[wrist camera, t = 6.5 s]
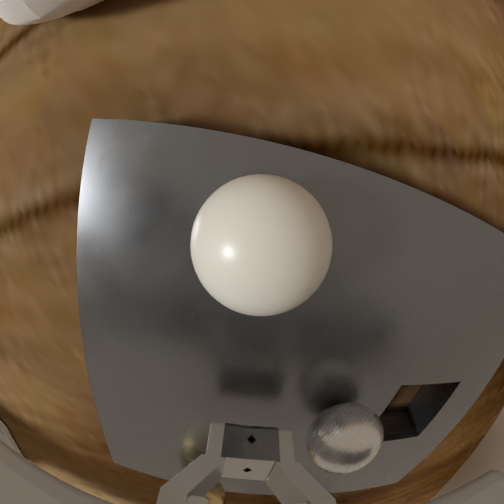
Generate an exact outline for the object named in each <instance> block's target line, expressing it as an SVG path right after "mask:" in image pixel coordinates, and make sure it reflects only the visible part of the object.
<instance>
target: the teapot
mask: <svg viewBox="0 0 504 504" xmlns="http://www.w3.org/2000/svg"><path fill="white" fill-rule="evenodd" d="M102 1H104V0H0V18H1V19H3V20H4V21H5V22H7V23H9V24H13V25H28V24H36V23H42V22H46V21H50V20H54V19H58V18H61V17H64V16H66V15H69V14H71V13H73V12H76V11H82V10H84V9H86V8H88V7H90V6H93V5H95V4H97V3H100V2H102Z"/></svg>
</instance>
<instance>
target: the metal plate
mask: <svg viewBox="0 0 504 504" xmlns="http://www.w3.org/2000/svg"><path fill="white" fill-rule="evenodd" d="M254 174H270V175H276V176H280V177H283V178H286V179H289V180H291V181H293V182H295V183H297V184H298V185H300V186H301V187H303V188H304V189H305V190H307V191H308V192H309V193H310V194H311V195H312V196H313V197H314V198H315V199H316V200H317V202H318V203H319V204H320V206H321V207H322V209H323V210H324V213H325V215H326V217H327V219H328V222H329V226H330V229H331V234H332V256H331V261H330V265H329V268H328V271H327V273H326V276H325V278H324V280H323V281H322V283H321V285H320V286H319V287H318V289H317V290H316V291H315V292H314V293H313V294H312V295H311V296H310V297H309V298H308V299H307V300H306V301H304V302H303V303H302V304H300V305H299V306H297V307H296V308H293V309H291V310H289V311H287V312H284V313H281V314H277V315H272V316H252V315H246V314H242V313H239V312H236V311H234V310H231V309H229V308H228V307H226V306H224V305H223V304H221V303H220V302H218V301H217V300H216V299H215V298H214V297H212V296H211V295H210V294H209V293H208V291H207V290H206V289H205V288H204V286H203V285H202V283H201V282H200V280H199V278H198V276H197V274H196V272H195V269H194V266H193V263H192V258H191V250H190V241H191V232H192V228H193V224H194V221H195V219H196V216H197V214H198V212H199V210H200V208H201V207H202V205H203V204H204V203H205V201H206V200H207V199H208V198H209V197H210V196H211V195H212V194H213V193H214V192H215V191H216V190H217V189H219V188H220V187H221V186H222V185H224V184H226V183H228V182H230V181H232V180H234V179H237V178H239V177H243V176H247V175H254ZM77 284H78V301H79V313H80V323H81V331H82V339H83V346H84V352H85V358H86V364H87V369H88V375H89V379H90V384H91V389H92V393H93V397H94V401H95V405H96V409H97V413H98V416H99V420H100V423H101V427H102V430H103V433H104V436H105V439H106V442H107V445H108V448H109V451H110V454H111V456H112V459H113V462H114V463H116V464H119V465H121V466H124V467H127V468H130V469H132V470H135V471H138V472H142V473H145V474H148V475H151V476H155V477H158V478H162V479H166V480H171V479H172V478H173V477H174V476H176V475H177V474H178V473H179V472H181V471H182V470H183V469H184V468H186V467H187V466H188V465H189V464H190V463H192V462H193V461H194V460H195V459H196V458H197V457H199V456H200V455H201V454H206V448H207V442H208V436H209V430H210V424H211V421H212V420H213V421H219V422H225V423H232V424H239V425H247V426H263V427H277V428H290V429H291V430H292V438H293V447H294V456H295V462H299V463H300V464H301V465H302V466H303V467H304V468H305V469H306V470H307V471H308V472H309V473H310V474H311V475H312V476H313V477H314V478H315V479H316V480H317V481H318V482H319V483H320V484H321V485H322V486H323V487H324V488H325V489H326V490H327V491H328V492H329V493H330V494H331V493H341V492H349V491H356V490H363V489H369V488H374V487H379V486H384V485H389V484H393V483H397V482H398V481H399V480H401V479H402V478H403V477H404V476H405V475H407V474H408V473H409V472H410V471H411V470H412V469H413V468H415V467H416V466H417V465H418V464H419V463H420V462H421V461H422V460H423V459H424V458H425V457H426V456H427V455H429V454H430V453H431V452H432V451H433V450H434V449H435V448H436V447H437V446H438V445H439V443H440V442H441V441H442V440H443V439H444V438H445V437H446V436H447V435H448V434H449V433H450V432H451V430H452V429H453V428H454V427H455V426H456V425H457V424H458V422H459V421H460V420H461V419H462V418H463V416H464V415H465V414H466V413H467V411H468V410H469V409H470V408H471V406H472V405H473V404H474V402H475V401H476V400H477V398H478V397H479V396H480V394H481V393H482V391H483V390H484V389H485V387H486V386H487V384H488V383H489V381H490V380H491V378H492V377H493V375H494V374H495V372H496V370H497V369H498V367H499V366H500V364H501V362H502V361H503V359H504V233H503V232H501V231H500V230H498V229H496V228H495V227H493V226H491V225H489V224H487V223H486V222H484V221H482V220H480V219H478V218H476V217H475V216H473V215H471V214H469V213H467V212H465V211H463V210H461V209H459V208H457V207H455V206H453V205H451V204H449V203H447V202H445V201H442V200H440V199H438V198H436V197H434V196H431V195H429V194H427V193H425V192H422V191H420V190H418V189H415V188H413V187H411V186H408V185H406V184H403V183H401V182H398V181H396V180H393V179H391V178H388V177H385V176H383V175H380V174H377V173H375V172H372V171H369V170H366V169H363V168H360V167H357V166H355V165H352V164H348V163H345V162H342V161H339V160H336V159H333V158H329V157H326V156H323V155H319V154H316V153H312V152H309V151H305V150H302V149H298V148H294V147H290V146H286V145H282V144H278V143H274V142H270V141H265V140H261V139H256V138H252V137H247V136H242V135H237V134H232V133H226V132H221V131H215V130H209V129H203V128H196V127H189V126H182V125H174V124H166V123H156V122H146V121H134V120H118V119H92V122H91V126H90V131H89V136H88V141H87V147H86V152H85V158H84V165H83V172H82V179H81V188H80V198H79V210H78V226H77ZM401 385H423V386H422V387H421V389H420V390H419V392H418V393H417V395H416V396H415V397H414V399H413V400H412V402H411V403H410V404H409V406H408V407H407V408H406V410H401V411H387V412H383V411H384V410H385V408H386V407H387V406H388V404H389V403H390V401H391V400H392V399H393V397H394V396H395V394H396V393H397V391H398V390H399V388H400V387H401ZM344 402H354V403H359V404H363V405H365V406H367V407H369V408H370V409H372V410H373V411H374V412H375V413H376V414H377V415H378V417H379V418H380V420H381V422H382V425H383V430H384V437H383V443H382V446H381V448H380V450H379V452H378V454H377V455H376V456H375V458H374V459H373V460H372V461H371V462H370V463H368V464H367V465H366V466H364V467H363V468H361V469H359V470H357V471H354V472H351V473H345V474H334V473H329V472H326V471H324V470H322V469H320V468H318V467H317V466H316V465H315V464H314V463H313V462H312V461H311V460H310V458H309V456H308V454H307V451H306V447H305V438H306V433H307V430H308V428H309V426H310V424H311V422H312V421H313V420H314V418H315V417H316V416H317V415H318V414H319V413H321V412H322V411H323V410H325V409H327V408H328V407H330V406H333V405H335V404H339V403H344ZM219 482H220V483H221V484H222V486H223V488H224V490H225V491H227V492H236V493H246V494H259V495H275V494H274V493H273V492H272V490H271V489H270V487H269V486H268V485H267V483H266V481H261V480H249V479H237V478H226V477H222V478H221V479H220V480H219Z"/></svg>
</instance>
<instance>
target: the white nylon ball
mask: <svg viewBox="0 0 504 504" xmlns="http://www.w3.org/2000/svg"><path fill="white" fill-rule="evenodd" d="M190 250H191V258H192V263H193V266H194V269H195V272H196V274H197V276H198V278H199V280H200V282H201V283H202V285H203V286H204V288H205V289H206V290H207V291H208V293H209V294H210V295H211V296H212V297H214V298H215V299H216V300H217V301H218V302H220V303H221V304H223V305H224V306H226V307H228V308H229V309H231V310H234V311H236V312H239V313H242V314H246V315H252V316H272V315H277V314H281V313H284V312H287V311H289V310H291V309H293V308H296V307H297V306H299V305H300V304H302V303H303V302H304V301H306V300H307V299H308V298H309V297H310V296H311V295H312V294H313V293H314V292H315V291H316V290H317V289H318V287H319V286H320V285H321V283H322V281H323V280H324V278H325V276H326V273H327V271H328V268H329V265H330V261H331V256H332V234H331V229H330V226H329V222H328V219H327V217H326V215H325V213H324V210H323V209H322V207H321V206H320V204H319V203H318V202H317V200H316V199H315V198H314V197H313V196H312V195H311V194H310V193H309V192H308V191H307V190H305V189H304V188H303V187H301V186H300V185H298V184H297V183H295V182H293V181H291V180H289V179H286V178H283V177H280V176H276V175H270V174H254V175H247V176H243V177H239V178H237V179H234V180H232V181H230V182H228V183H226V184H224V185H222V186H221V187H220V188H219V189H217V190H216V191H215V192H214V193H213V194H212V195H211V196H210V197H209V198H208V199H207V200H206V201H205V203H204V204H203V205H202V207H201V208H200V210H199V212H198V214H197V216H196V219H195V221H194V224H193V228H192V232H191V241H190Z"/></svg>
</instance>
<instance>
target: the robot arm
mask: <svg viewBox="0 0 504 504" xmlns="http://www.w3.org/2000/svg"><path fill="white" fill-rule="evenodd" d="M222 477H226V478H237V479H249V480H261V481H266V483H267V485H268V486H269V487H270V489H271V490H272V492H273V493H274V494H275V496H276V497H277V499H278V500H279V501H280V503H281V504H336V499H335V498H334V497H333V496H332V495H331V494H330V493H329V492H328V491H327V490H326V489H325V488H324V487H323V486H322V485H321V484H320V483H319V482H318V481H317V480H316V479H315V478H314V477H313V476H312V475H311V474H310V473H309V472H308V471H307V470H306V469H305V468H304V467H303V466H302V465H301V464H300V463H299V462H295V456H294V447H293V438H292V430H291V429H290V428H277V427H263V426H247V425H239V424H232V423H225V422H219V421H213V420H212V421H211V424H210V430H209V436H208V442H207V448H206V454H201V455H200V456H199V457H197V458H196V459H195V460H194V461H193V462H192V463H190V464H189V465H188V466H187V467H186V468H184V469H183V470H182V471H181V472H179V473H178V474H177V475H176V476H174V477H173V478H172V479H171V480H169V481H168V482H167V483H165V484H164V485H163V486H161V487H160V491H159V494H158V498H157V502H156V504H208V500H207V499H206V498H205V497H204V496H205V495H206V494H207V493H208V492H209V491H210V490H211V489H212V488H213V487H214V486H215V485H216V483H217V482H218V481H219V480H220V479H221V478H222ZM0 504H112V503H110V502H107V501H105V500H102V499H100V498H97V497H95V496H93V495H90V494H88V493H86V492H84V491H82V490H80V489H78V488H76V487H74V486H72V485H70V484H68V483H66V482H64V481H62V480H60V479H58V478H57V477H55V476H53V475H51V474H50V473H48V472H46V471H45V470H43V469H41V468H40V467H38V466H37V465H35V464H33V463H32V462H30V461H29V460H27V459H26V458H24V456H23V455H22V453H21V451H20V450H19V448H18V446H17V445H16V443H15V441H14V439H13V438H12V436H11V434H10V432H9V430H8V428H7V427H6V426H5V424H4V423H3V422H2V421H1V420H0ZM424 504H504V473H503V472H501V471H499V470H496V469H494V470H490V471H488V472H487V473H485V474H483V475H482V476H480V477H478V478H476V479H475V480H473V481H471V482H469V483H467V484H465V485H464V486H461V487H459V488H458V489H456V490H453V491H452V492H449V493H447V494H445V495H443V496H440V497H439V498H436V499H433V500H431V501H429V502H426V503H424Z"/></svg>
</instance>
